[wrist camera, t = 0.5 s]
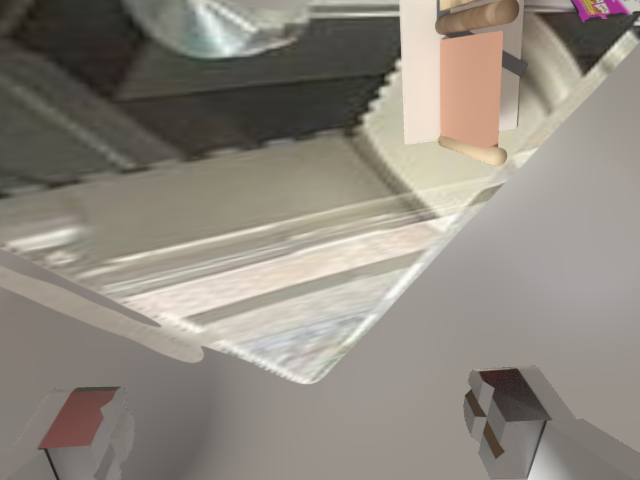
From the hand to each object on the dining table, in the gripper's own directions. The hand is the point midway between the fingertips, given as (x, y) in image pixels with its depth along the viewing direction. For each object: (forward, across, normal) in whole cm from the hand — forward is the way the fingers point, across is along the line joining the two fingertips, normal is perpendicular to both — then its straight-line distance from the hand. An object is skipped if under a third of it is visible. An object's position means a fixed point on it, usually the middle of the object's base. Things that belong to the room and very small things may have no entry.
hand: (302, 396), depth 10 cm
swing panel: (+46, -19, -1) cm, 49 cm away
